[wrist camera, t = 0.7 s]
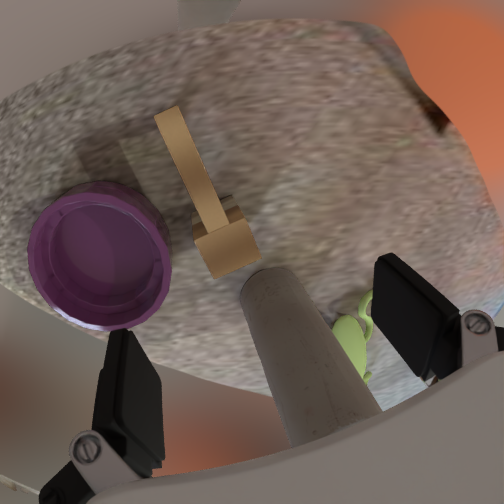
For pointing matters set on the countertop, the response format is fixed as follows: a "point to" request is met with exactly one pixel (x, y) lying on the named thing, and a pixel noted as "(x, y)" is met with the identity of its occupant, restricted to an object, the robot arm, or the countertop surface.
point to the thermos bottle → (303, 360)
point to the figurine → (355, 336)
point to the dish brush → (208, 203)
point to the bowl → (101, 256)
